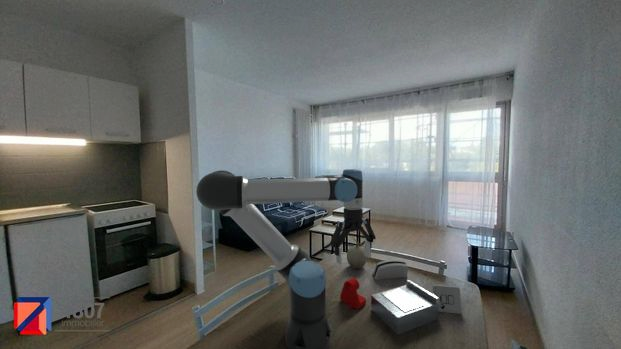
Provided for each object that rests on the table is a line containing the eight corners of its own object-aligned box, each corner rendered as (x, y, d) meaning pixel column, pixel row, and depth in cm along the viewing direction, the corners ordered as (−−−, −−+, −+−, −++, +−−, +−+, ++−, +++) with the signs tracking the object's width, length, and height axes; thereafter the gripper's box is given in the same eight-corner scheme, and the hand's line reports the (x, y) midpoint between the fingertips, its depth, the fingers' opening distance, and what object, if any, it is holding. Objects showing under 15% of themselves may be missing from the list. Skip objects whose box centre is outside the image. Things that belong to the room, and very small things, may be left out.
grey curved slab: (402, 271, 119) (406, 256, 115) (407, 279, 115) (411, 263, 111) (371, 274, 117) (374, 259, 113) (374, 281, 113) (377, 266, 109)
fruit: (364, 274, 117) (364, 245, 116) (343, 269, 123) (343, 241, 122) (370, 266, 126) (370, 239, 125) (351, 261, 132) (350, 235, 131)
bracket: (366, 304, 93) (366, 280, 93) (357, 310, 89) (357, 285, 89) (349, 294, 100) (349, 272, 99) (340, 301, 96) (340, 277, 95)
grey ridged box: (397, 335, 76) (397, 311, 76) (371, 310, 89) (371, 290, 89) (438, 319, 84) (438, 297, 83) (408, 298, 97) (408, 279, 96)
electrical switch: (434, 312, 88) (434, 287, 88) (430, 305, 93) (430, 281, 93) (462, 315, 86) (461, 289, 86) (456, 307, 91) (456, 283, 91)
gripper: (329, 213, 84) (330, 269, 85) (384, 206, 93) (384, 257, 95) (320, 209, 91) (321, 261, 92) (372, 203, 100) (373, 251, 102)
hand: (353, 259), depth 93 cm, fingers open, 13 cm apart
